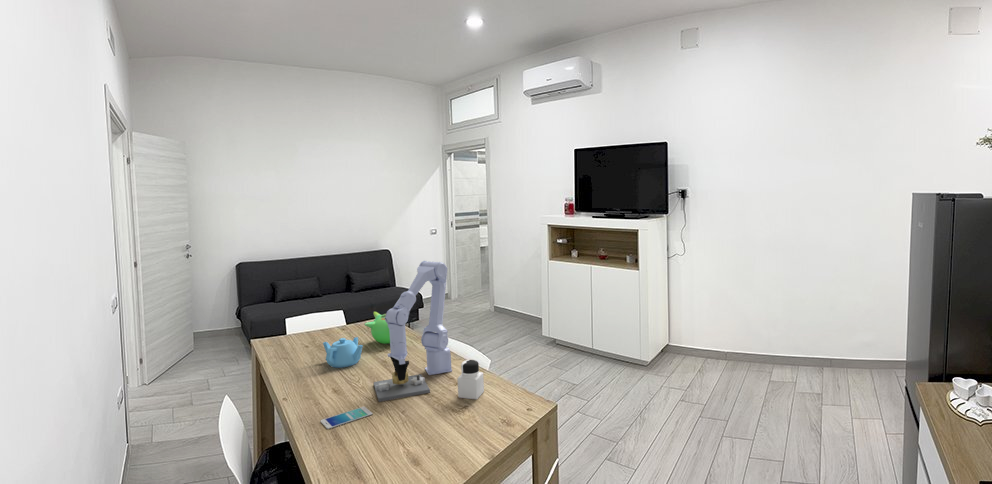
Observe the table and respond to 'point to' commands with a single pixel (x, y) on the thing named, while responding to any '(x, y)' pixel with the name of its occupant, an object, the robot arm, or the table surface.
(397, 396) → the gear board
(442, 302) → the robot arm
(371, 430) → the table surface
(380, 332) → the toy bird
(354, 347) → the teapot
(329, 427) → the smartphone
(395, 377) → the brass gear
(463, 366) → the medicine bottle
